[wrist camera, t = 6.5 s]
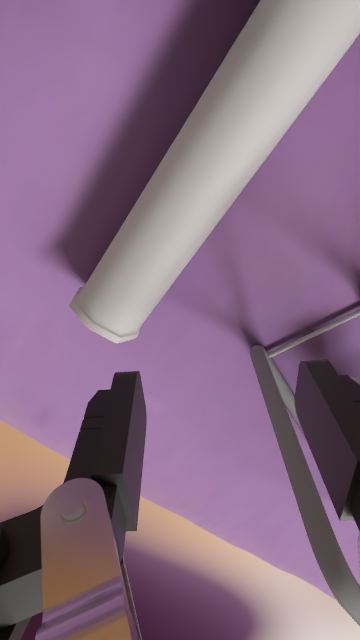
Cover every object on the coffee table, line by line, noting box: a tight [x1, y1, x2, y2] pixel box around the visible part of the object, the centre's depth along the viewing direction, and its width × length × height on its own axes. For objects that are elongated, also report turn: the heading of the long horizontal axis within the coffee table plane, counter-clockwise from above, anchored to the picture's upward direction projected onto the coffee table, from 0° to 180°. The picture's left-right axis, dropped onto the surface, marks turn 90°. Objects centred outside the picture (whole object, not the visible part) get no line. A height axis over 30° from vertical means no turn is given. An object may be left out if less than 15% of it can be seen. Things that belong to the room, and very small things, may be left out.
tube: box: [69, 0, 360, 343], centre depth 19 cm, size 5×5×25 cm
